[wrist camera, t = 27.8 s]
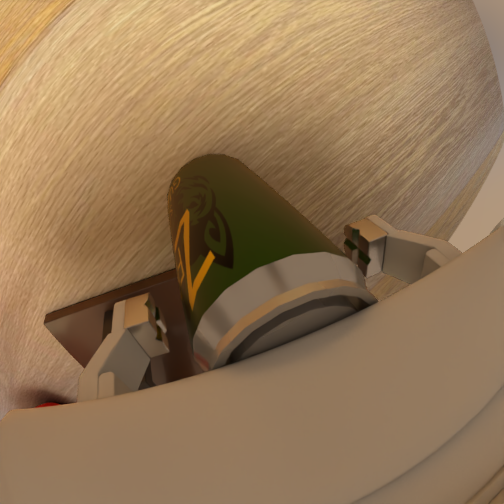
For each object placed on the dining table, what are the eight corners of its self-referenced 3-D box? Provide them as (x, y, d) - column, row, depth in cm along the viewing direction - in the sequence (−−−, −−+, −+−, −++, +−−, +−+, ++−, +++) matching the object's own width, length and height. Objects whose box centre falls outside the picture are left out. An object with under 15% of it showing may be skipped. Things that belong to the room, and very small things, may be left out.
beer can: (252, 145, 15) (409, 252, 6) (255, 226, 18) (361, 375, 9) (159, 160, 14) (175, 317, 5) (174, 242, 17) (217, 426, 8)
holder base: (128, 399, 25) (135, 461, 19) (45, 314, 16) (27, 397, 10) (249, 363, 27) (276, 426, 21) (211, 255, 19) (243, 340, 13)
